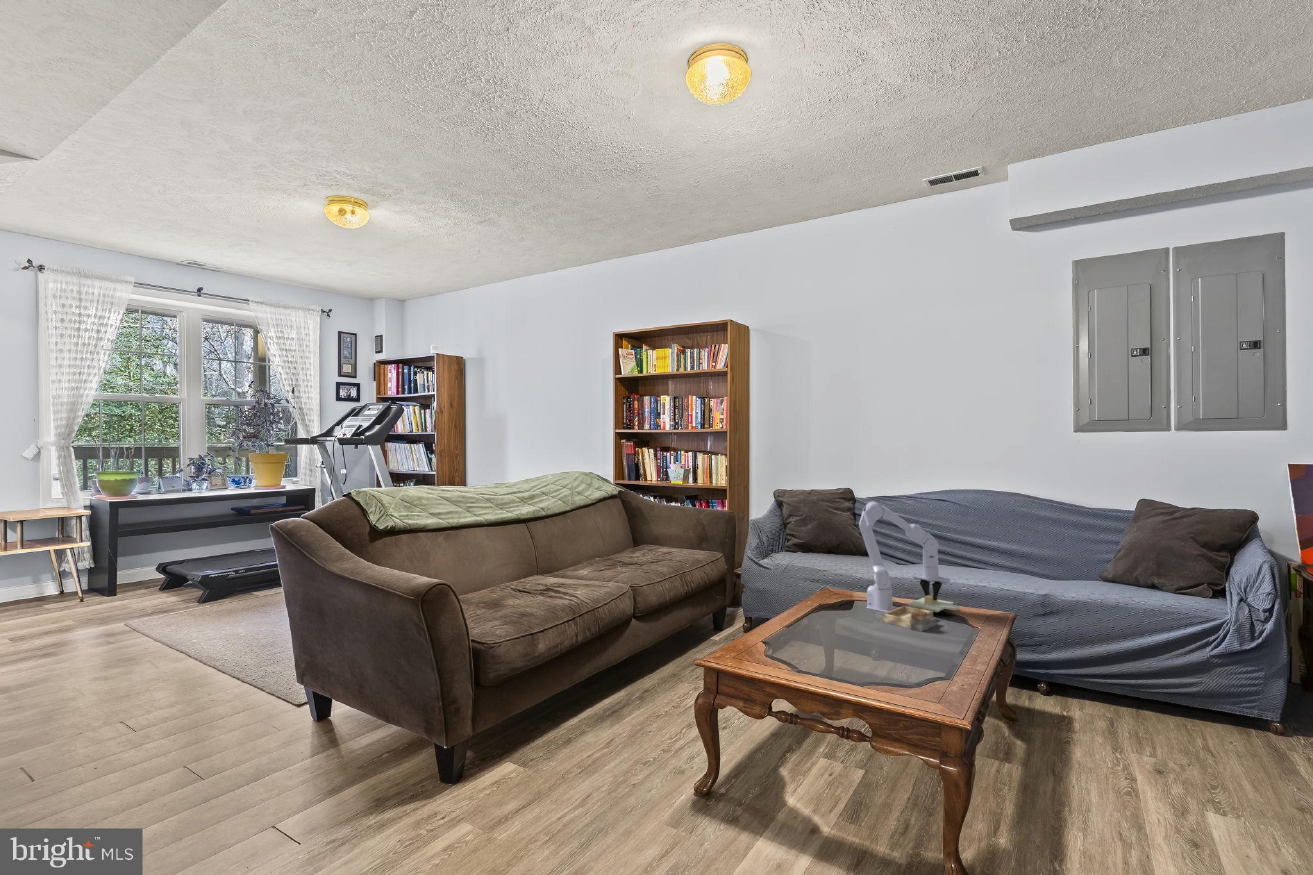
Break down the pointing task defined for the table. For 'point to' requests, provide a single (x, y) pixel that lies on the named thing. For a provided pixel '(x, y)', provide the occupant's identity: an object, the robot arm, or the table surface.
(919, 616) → the bolt
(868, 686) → the table surface
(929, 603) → the lid
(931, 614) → the wooden tray
